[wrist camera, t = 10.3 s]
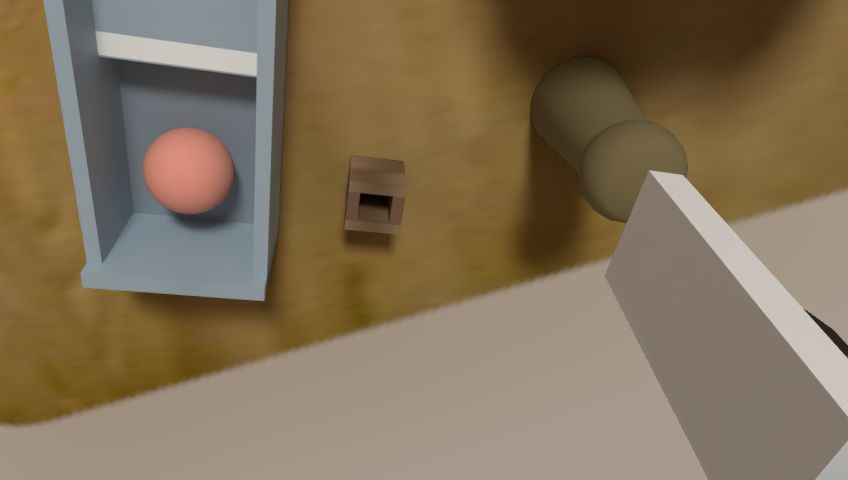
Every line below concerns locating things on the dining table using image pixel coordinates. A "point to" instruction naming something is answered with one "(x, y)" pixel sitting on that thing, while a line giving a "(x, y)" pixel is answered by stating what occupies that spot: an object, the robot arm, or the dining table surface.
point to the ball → (188, 170)
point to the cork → (602, 134)
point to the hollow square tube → (375, 209)
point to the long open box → (161, 112)
